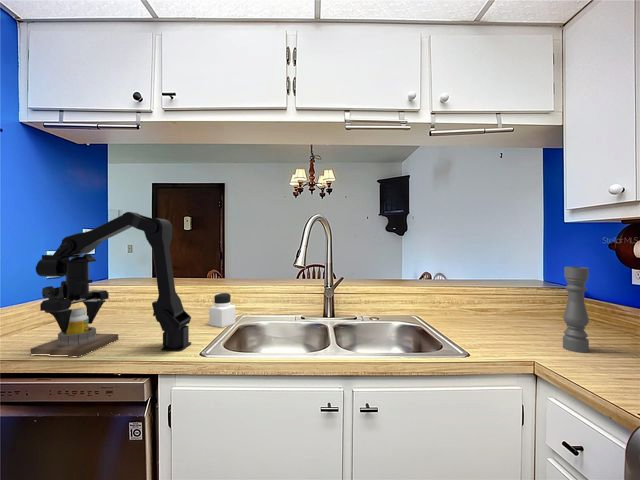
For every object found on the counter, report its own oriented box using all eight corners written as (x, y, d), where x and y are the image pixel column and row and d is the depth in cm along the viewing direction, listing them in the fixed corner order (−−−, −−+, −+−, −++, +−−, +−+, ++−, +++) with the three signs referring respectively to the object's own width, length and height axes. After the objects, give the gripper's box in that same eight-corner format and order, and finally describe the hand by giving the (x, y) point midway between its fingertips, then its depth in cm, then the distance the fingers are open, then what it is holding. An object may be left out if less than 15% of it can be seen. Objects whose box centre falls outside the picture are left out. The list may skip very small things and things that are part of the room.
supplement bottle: (68, 339, 97) (68, 308, 97) (89, 337, 100) (89, 306, 100) (64, 344, 93) (64, 312, 93) (87, 341, 95) (87, 310, 95)
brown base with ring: (118, 340, 103) (118, 324, 103) (79, 357, 88) (79, 339, 88) (75, 338, 105) (75, 323, 105) (30, 355, 90) (30, 338, 90)
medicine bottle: (235, 323, 124) (235, 293, 124) (221, 328, 118) (221, 296, 117) (223, 321, 127) (223, 291, 127) (208, 325, 121) (208, 294, 121)
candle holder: (563, 344, 101) (563, 266, 100) (588, 348, 97) (589, 267, 97) (562, 349, 96) (563, 267, 96) (589, 354, 92) (589, 269, 92)
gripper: (78, 273, 106) (78, 319, 106) (21, 280, 88) (22, 336, 88) (109, 273, 105) (109, 320, 105) (58, 281, 87) (59, 337, 87)
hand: (77, 327), depth 96 cm, fingers open, 9 cm apart
